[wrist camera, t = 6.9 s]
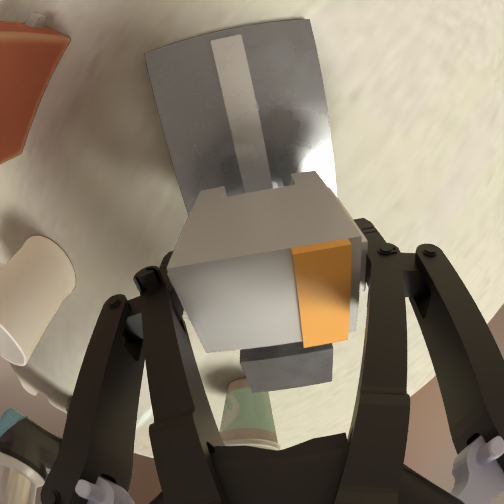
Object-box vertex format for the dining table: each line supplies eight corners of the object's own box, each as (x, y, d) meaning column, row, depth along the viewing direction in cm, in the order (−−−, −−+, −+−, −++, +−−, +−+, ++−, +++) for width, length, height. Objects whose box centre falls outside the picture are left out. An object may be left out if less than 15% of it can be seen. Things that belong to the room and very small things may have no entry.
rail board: (337, 321, 31) (356, 388, 23) (235, 337, 32) (232, 406, 24) (306, 22, 15) (343, -18, 7) (149, 55, 16) (88, 39, 8)
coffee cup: (234, 366, 35) (231, 449, 25) (287, 380, 37) (294, 455, 27) (210, 392, 39) (204, 461, 29) (258, 403, 41) (260, 469, 31)
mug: (8, 265, 26) (-40, 324, 16) (6, 212, 22) (-58, 272, 12) (73, 304, 30) (33, 379, 19) (79, 254, 26) (22, 336, 15)
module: (322, 241, 19) (358, 337, 11) (220, 258, 19) (205, 359, 12) (315, 170, 16) (365, 242, 9) (200, 190, 17) (163, 275, 10)
